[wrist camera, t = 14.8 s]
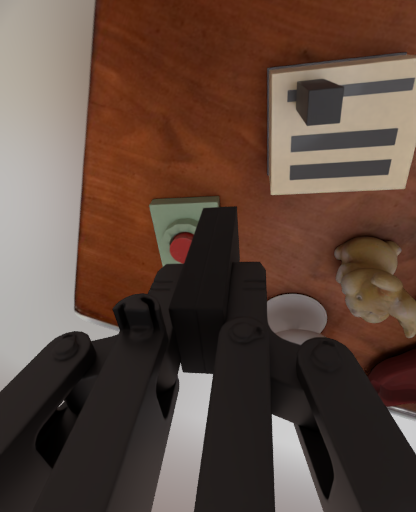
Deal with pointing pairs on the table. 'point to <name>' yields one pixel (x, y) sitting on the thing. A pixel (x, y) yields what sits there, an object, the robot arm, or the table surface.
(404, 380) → the ashtray
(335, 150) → the toaster
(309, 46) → the table surface
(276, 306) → the chalice
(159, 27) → the table surface
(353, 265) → the figurine
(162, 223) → the control block
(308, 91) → the toaster slider
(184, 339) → the robot arm
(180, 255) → the button
